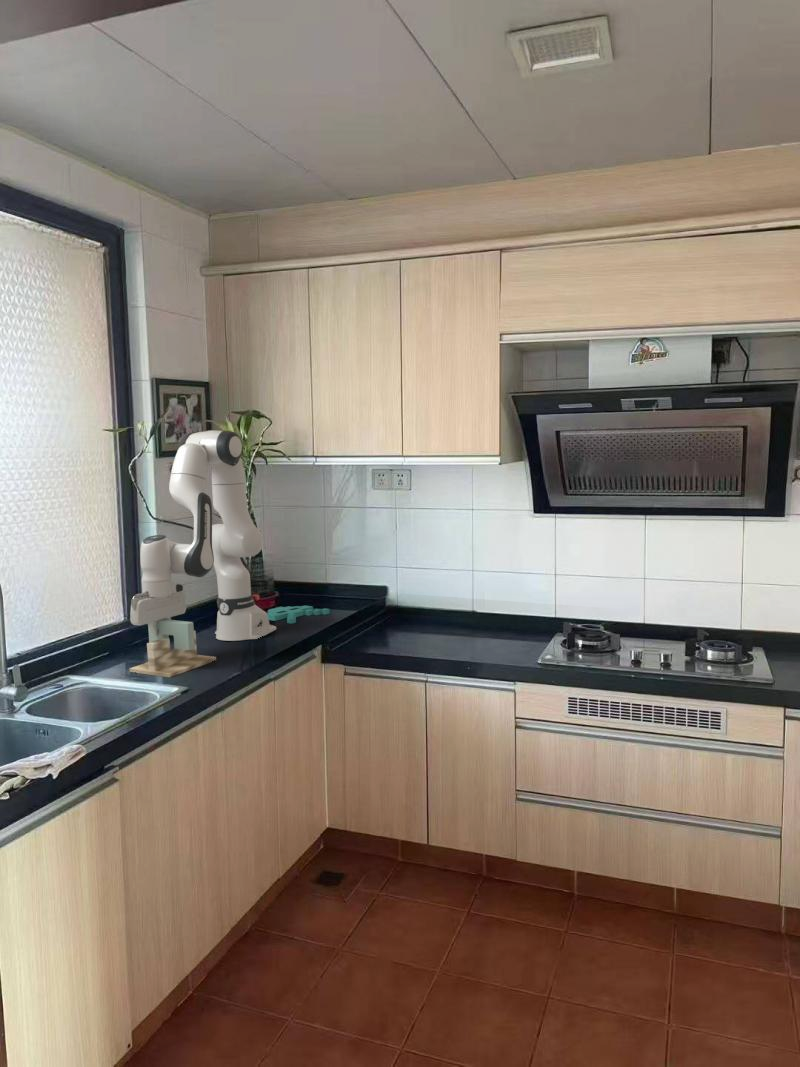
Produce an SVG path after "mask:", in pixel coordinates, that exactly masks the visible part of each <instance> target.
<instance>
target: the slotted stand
mask: <svg viewBox="0 0 800 1067" xmlns="http://www.w3.org/2000/svg"><path fill="white" fill-rule="evenodd" d="M196 632H197V631H196V630H194V644H195V649H192V650H182V649H174V648H172V649H171V642H170V638H169V639H166V638H162V639H159V640H156V641H153V642H150V643H149V642H147V643H146V648H147V650H146V651H147V662H144V663H142V664H138V665H136V666H133V667H129V672H130V673H135V672H136V673H137V674H144V675H149V676H150V675H152V676H157V677H158V676H159V677H164V678H172V677H176V676H178V675H181V674H183V673H186V672H189V671H191V670H193V669H196V668H199V667H202V666H205V665H207V664H211V663H212V661H213V662H214V660H215V661H217V656H213V655H212V656H211V655H204V654H203V655H202V654H198V649H197V647H198V646H197V635H196V634H197V633H196Z"/></svg>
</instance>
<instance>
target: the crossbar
mask: <svg viewBox="0 0 800 1067" xmlns="http://www.w3.org/2000/svg"><path fill="white" fill-rule="evenodd" d="M155 626H156V628H157V629H159V635H157V636H152V633H151V629H150V628H149V626H148V625H147V628H148V643H150V642H153V641H156V640H159V639H162V638H166V639H170V636H173V646H174V647H173V649H182V650H192V649H195V644H194V631H195V628H194V622H193V621H187V620H186V621H184V620H175V619H171V620H167V619H162V620H159V621H156V625H155Z"/></svg>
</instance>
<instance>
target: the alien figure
mask: <svg viewBox="0 0 800 1067" xmlns="http://www.w3.org/2000/svg"><path fill="white" fill-rule="evenodd" d="M266 613H267V614H268V617H269V621H273V622H276V621H280V620H283V619H286V624H295V623H296V622H297V618H298V617H303V616H313V615H314V616H318V615H319V616H320V615H324V616H325V615H329V614H330V608H325V607H324V608H321V609H320V608H315V609H314V606H311V605H299V606H298V605H296V606H291V605H290V606H285V607H284V606H279V607H275V608H270V609H268V610H267V612H266Z"/></svg>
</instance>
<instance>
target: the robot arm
mask: <svg viewBox="0 0 800 1067" xmlns="http://www.w3.org/2000/svg"><path fill="white" fill-rule="evenodd" d="M243 450H244V445H243V441H242V439H241V437H240V436H239V434H238V433H237V432H234V431H231V430H212V429H211V430H205V431H199V432H196V431H195V432H189V433H187V434H185V435H184V436H182V438H181V439H180V441H179V445H178V449H177V451H176V454H175V457H174V459H173V463H172V467H171V472H170V477H169V484H168V487H169V488H168V490H169V493H170V496H171V497H172V499H173V501H175V502H176V503H177V504H178V505H180V506H182V507H185V508H186V509H188V510H189V511H190V512H191V514H192V515H193V541H192V543H179V542H178V543H177V542H174V541H172V540H170V539H169V538H168V537H167V535H165V534H164V535H163V534H155V535H150V536H147V537H145V538H144V539H142V540H141V544H140V553H139V554H140V555H139V557H140V568H141V571H142V577H141V590H142V591H141V593H136V594H134V596H133V597H132V599H131V604H130V613H129V615H130V617H129V620H130V623H131V625H133V626H145V625H147V627H148V626H149V628H150V629H151V633H152V636H157V635H159V629H157V628H156V626H155V625H156V621H159V620H162V619H167V620H172V618H173V617H176V616H179V615H184V614H185V613H186V610H187V598H186V594H185V592H184V591H185V590H186V589H185V588H186V586H185V584H182V583H179V582H175V581H173V576H172V575H179V576H191V577H194V578H203V577H205V576H206V575H207V574H209V572H210V571H211V570H212V569H213V567H214V572H215V575H216V581H217V582H216V584H217V594H218V596H217V599H216V604H217V608H218V611H217V616H216V617H217V618H216V630H215V631H214V635H215V634H216V635H215V639H217V640H219V641H231V642H236V641H238V642H239V641H246V640H258V638H259V639H261V638H262V636H263V637H264V636H267V635H268V634H271V633H273V632H274V631H277V626H275V625H273V624H270V620H269V617H268V614H267V613H268V612H266V611H265V610H263V609H262V608H260V607H259V606H258V605H256V602H255V601H259V600H260V594H255V593H253V594H252V587H251V575H250V572H249V570H248V569H247V568H246V567H245V566H244V564H243V562H242V559H241V558H250V557H254V556H256V555H258V554H259V553H260V552H261V550H263V546H264V536H263V534H262V532H261V531H260V530H259V528H257V527H256V524H255V523H254V522H253V519H252V518H251V515H250V512H249V509H248V504H247V495H246V493H247V492H246V477H245V470H244V465H243V460H242V457H241V456H242V454H243ZM208 465H209V466H211V492H212V493H211V494H212V500H211V497H210V496H209V495H208V493H207V478H208V477H207V476H208ZM213 508H214V510H215V511H216V512H217V513H218V514H219V516H220V518H221V521H222V523H216V524H213ZM260 637H261V638H260Z"/></svg>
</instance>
